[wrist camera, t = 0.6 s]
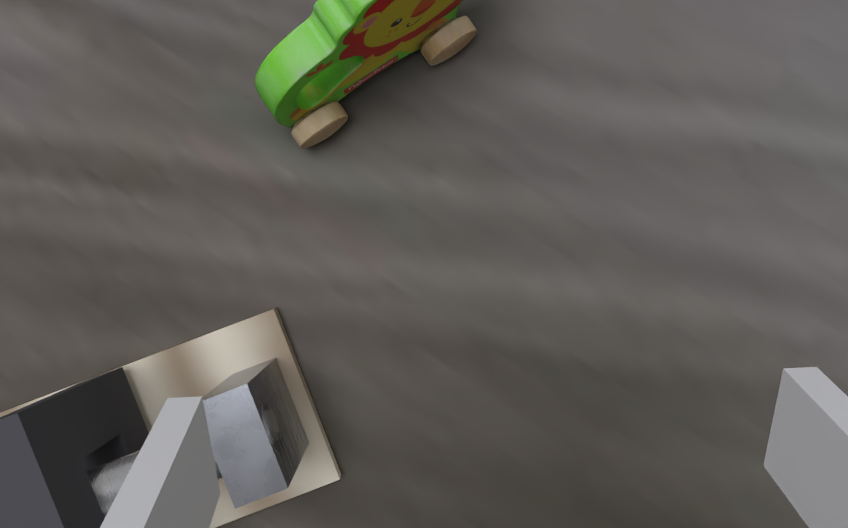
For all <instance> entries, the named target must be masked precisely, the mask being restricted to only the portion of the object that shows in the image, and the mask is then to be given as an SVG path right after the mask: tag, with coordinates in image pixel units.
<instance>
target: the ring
mask: <svg viewBox="0 0 848 528" xmlns="http://www.w3.org/2000/svg"><path fill="white" fill-rule="evenodd" d="M148 434H149V432H148V430H147V427H146V425H145V422H144V420H143V417H142V415H141V412H140V410H139V407H138V405H137V402H136V400H135V397H134V395H133V392H132V390H131V387H130V385H129V382H128V380H127V377H126V375H125V372H124V370H123V367H121V368H118V369H116V370H113V371H110V372H108V373H105V374H102V375H100V376H97V377H94V378H92V379H89V380H87V381H84V382H81V383H79V384H76V385H74V386H72V387H69V388H67V389H65V390H62V391H60V392H58V393H55V394H53V395H51V396H48V397H46V398H44V399H41V400H39V401H37V402H35V403H32V404H30V405H28V406H25V407H23V408H21V409H18V410H16V411H14V412H11V413H9V414H7V415H4V416H2V417H0V528H100V526H101V524H102V522H103V521H104V519H105V518H104V516H103V513H102V511H101V508H100V506H99V503H98V501H97V498H96V496H95V493H94V491H93V488H92V486H91V483H90V481H89V478H88V476H87V473H86V471H87V470H90V469H92V468H95V467H97V466H100V465H103V464H105V463H108V462H111V461H113V460H116V459H118V458H121V457H124V456H126V455H129V454H131V453H134V452H137V451H139V450H141V448H142V446H143V444H144V442H145V440H146V438H147V436H148Z"/></svg>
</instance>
